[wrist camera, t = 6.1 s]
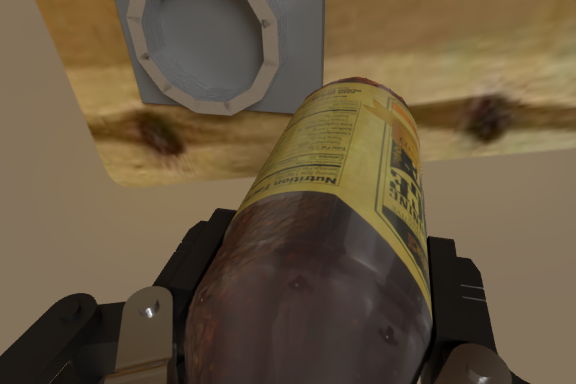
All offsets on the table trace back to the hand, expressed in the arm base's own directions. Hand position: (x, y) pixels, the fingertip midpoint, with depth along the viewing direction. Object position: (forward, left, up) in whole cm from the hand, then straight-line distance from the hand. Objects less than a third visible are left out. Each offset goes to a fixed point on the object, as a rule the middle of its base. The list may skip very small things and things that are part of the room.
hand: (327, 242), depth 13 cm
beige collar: (+13, -1, -23) cm, 26 cm away
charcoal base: (+13, -1, -24) cm, 27 cm away
